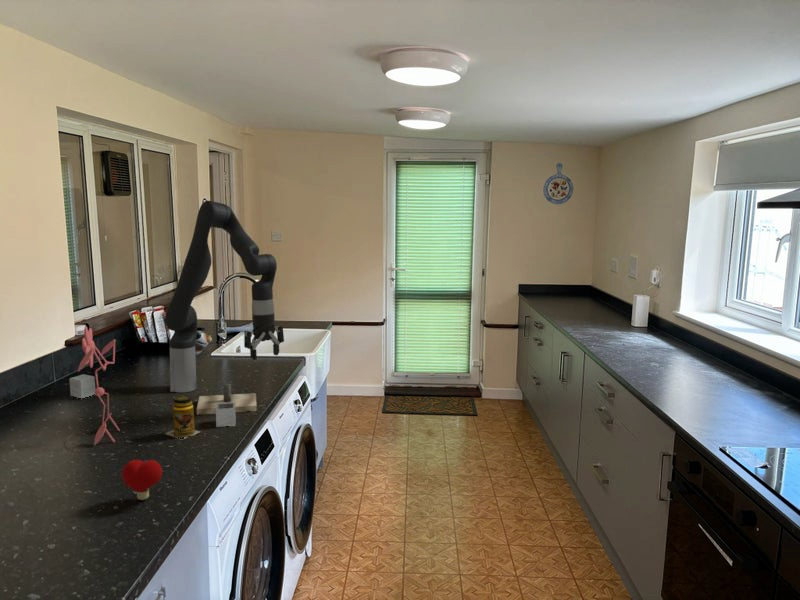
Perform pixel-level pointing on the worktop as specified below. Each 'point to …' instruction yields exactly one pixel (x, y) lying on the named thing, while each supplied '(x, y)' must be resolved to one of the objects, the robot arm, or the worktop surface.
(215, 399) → the hub base
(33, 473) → the worktop surface
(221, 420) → the steel collar
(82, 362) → the figurine
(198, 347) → the lucky cat figurine
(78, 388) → the product box
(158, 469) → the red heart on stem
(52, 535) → the worktop surface
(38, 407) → the worktop surface
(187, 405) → the condiment
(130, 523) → the worktop surface
